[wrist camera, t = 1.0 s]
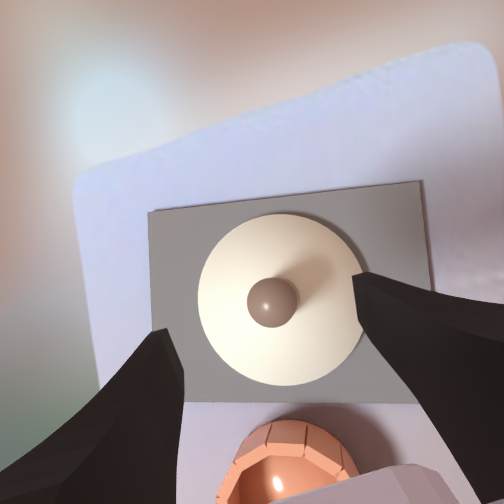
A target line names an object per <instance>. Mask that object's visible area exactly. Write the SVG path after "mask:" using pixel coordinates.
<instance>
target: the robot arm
mask: <svg viewBox="0 0 504 504" xmlns="http://www.w3.org/2000/svg"><path fill="white" fill-rule="evenodd" d="M352 283H353V290H354V297H355V304H356V311H357V318H358V322H359V323H360V325H361V327H362V328H363V330H364V332H365V333H366V335H367V337H368V338H369V340H370V341H371V343H372V344H373V345H374V346H375V348H376V349H377V350H378V351H379V353H380V354H381V355H382V356H383V358H384V359H385V360H386V361H387V362H388V364H389V365H390V366H391V367H392V369H393V370H394V371H395V372H396V373H397V375H398V376H399V377H400V378H401V379H402V381H403V382H404V383H405V384H406V386H407V387H408V388H409V389H410V391H411V392H412V393H413V395H414V396H415V397H416V399H417V400H418V402H419V403H420V405H421V406H422V408H423V409H424V411H425V412H426V414H427V415H428V417H429V418H430V420H431V421H432V423H433V425H434V426H435V428H436V429H437V431H438V432H439V434H440V436H441V437H442V439H443V440H444V442H445V444H446V445H447V447H448V448H449V450H450V451H451V453H452V455H453V456H454V458H455V460H456V461H457V463H458V465H459V466H460V468H461V470H462V471H463V473H464V475H465V476H466V478H467V480H468V481H469V483H470V485H471V486H472V488H473V490H474V492H475V493H476V495H477V497H478V499H479V500H480V502H481V504H504V304H497V303H489V302H482V301H476V300H470V299H465V298H460V297H454V296H450V295H445V294H441V293H437V292H433V291H430V290H426V289H422V288H419V287H416V286H412V285H409V284H406V283H403V282H400V281H397V280H394V279H391V278H388V277H385V276H382V275H378V274H375V273H372V272H367V271H366V272H363V273H359V274H356V275H352ZM184 396H185V384H184V369H183V366H182V364H181V361H180V359H179V356H178V354H177V351H176V349H175V346H174V344H173V342H172V339H171V337H170V334H169V332H168V329H167V328H164V329H160V330H157V331H153V332H151V333H150V334H149V335H148V336H147V337H146V338H145V339H144V340H143V342H142V343H141V344H140V345H139V346H138V348H137V349H136V350H135V351H134V353H133V354H132V355H131V356H130V357H129V359H128V360H127V361H126V362H125V363H124V365H123V366H122V367H121V368H120V369H119V370H118V372H117V373H116V374H115V375H114V376H113V377H112V378H111V379H110V380H109V382H108V383H107V384H106V385H105V386H104V387H103V388H102V389H101V390H100V391H99V392H98V394H96V395H95V396H94V397H93V398H92V399H91V400H90V401H89V402H88V403H87V404H86V405H85V406H84V407H83V408H82V409H81V410H80V411H79V412H78V413H76V414H75V415H74V416H73V417H72V418H71V419H70V420H68V421H67V422H66V423H65V424H63V425H62V426H61V427H60V428H59V429H57V430H56V431H55V432H54V433H53V434H51V435H50V436H49V437H48V438H47V439H45V440H44V441H43V442H42V443H40V444H39V445H37V446H36V447H35V448H34V449H32V450H31V451H30V452H28V453H27V454H25V455H24V456H23V457H21V458H20V459H18V460H17V461H15V462H14V463H13V464H11V465H10V466H8V467H7V468H5V469H4V470H2V471H1V472H0V504H176V471H177V456H178V447H179V439H180V431H181V423H182V414H183V405H184ZM268 504H460V503H459V502H458V500H457V499H456V498H455V496H454V495H453V493H452V492H451V490H450V489H449V487H448V486H447V484H446V483H445V481H444V480H443V478H442V477H441V475H440V474H439V473H438V472H436V471H433V470H430V469H428V468H425V467H422V466H420V465H416V464H406V465H397V466H388V467H385V468H382V469H379V470H375V471H372V472H369V473H365V474H362V475H359V476H356V477H352V478H349V479H346V480H342V481H339V482H336V483H332V484H329V485H326V486H323V487H319V488H316V489H313V490H309V491H306V492H303V493H300V494H296V495H293V496H290V497H286V498H283V499H280V500H276V501H273V502H270V503H268Z"/></svg>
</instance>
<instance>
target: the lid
mask: <svg viewBox="0 0 504 504" xmlns="http://www.w3.org/2000/svg"><path fill="white" fill-rule="evenodd" d="M359 273H363V272H362V270H361V267H360V265H359V263H358V261H357V259H356V257H355V256H354V254H353V252H352V251H351V250H350V248H349V247H348V246H347V245H346V243H345V242H344V241H343V240H342V239H341V238H340V237H339V236H337V235H336V234H335V233H334V232H332V231H331V230H330V229H328V228H327V227H325V226H323V225H321V224H320V223H318V222H316V221H313V220H310V219H308V218H304V217H300V216H296V215H288V214H273V215H267V216H261V217H258V218H255V219H252V220H249V221H247V222H245V223H243V224H241V225H239V226H238V227H236V228H234V229H233V230H232V231H230V232H229V233H228V234H227V235H225V236H224V237H223V238H222V239H221V240H220V241H219V242H218V244H217V245H216V246H215V248H214V249H213V250H212V252H211V253H210V255H209V257H208V259H207V260H206V263H205V265H204V268H203V270H202V274H201V277H200V281H199V288H198V308H199V315H200V319H201V323H202V326H203V329H204V332H205V334H206V336H207V338H208V340H209V342H210V344H211V345H212V347H213V348H214V350H215V351H216V352H217V353H218V355H219V356H220V357H221V358H222V359H223V360H224V361H225V362H226V363H227V364H228V365H229V366H230V367H232V368H233V369H235V370H236V371H237V372H239V373H240V374H242V375H244V376H246V377H248V378H250V379H253V380H255V381H258V382H261V383H265V384H270V385H279V386H290V385H299V384H304V383H308V382H311V381H314V380H317V379H319V378H321V377H323V376H325V375H327V374H328V373H330V372H331V371H332V370H334V369H335V368H337V367H338V366H339V365H340V364H341V363H342V362H343V361H344V360H345V359H346V358H347V357H348V356H349V354H350V353H351V352H352V351H353V349H354V347H355V346H356V344H357V342H358V341H359V338H360V336H361V334H362V331H363V328H362V327H361V325H360V323H359V322H358V318H357V311H356V304H355V297H354V290H353V283H352V275H356V274H359Z"/></svg>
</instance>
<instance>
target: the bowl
mask: <svg viewBox="0 0 504 504" xmlns="http://www.w3.org/2000/svg"><path fill="white" fill-rule="evenodd" d="M359 475H360V473H359V472H358V470H357V467H356V465H355V463H354V461H353V459H352V457H351V456H350V454H349V453H348V451H347V450H346V449H345V447H344V446H343V445H342V444H341V443H340V442H339V441H338V440H337V439H336V438H335V437H334V436H332V435H331V434H330V433H328V432H327V431H325V430H324V429H322V428H320V427H318V426H316V425H314V424H311V423H308V422H305V421H300V420H292V419H286V420H278V421H273V422H270V423H267V424H265V425H263V426H261V427H259V428H258V429H256V430H255V431H253V432H252V433H251V434H250V435H249V436H248V437H247V438H245V439H244V440H243V442H242V444H241V446H240V448H239V450H238V452H237V454H236V456H235V458H234V460H233V462H232V464H231V466H230V468H229V470H228V472H227V474H226V477H225V479H224V481H223V483H222V485H221V487H220V489H219V491H218V493H217V497H216V504H268V503H270V502H273V501H276V500H280V499H283V498H286V497H290V496H293V495H296V494H300V493H303V492H306V491H309V490H313V489H316V488H319V487H323V486H326V485H329V484H332V483H336V482H339V481H342V480H346V479H349V478H352V477H356V476H359Z"/></svg>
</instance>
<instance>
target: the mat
mask: <svg viewBox="0 0 504 504" xmlns="http://www.w3.org/2000/svg"><path fill="white" fill-rule="evenodd" d="M273 214H288V215H296V216H300V217H304V218H308V219H310V220H313V221H316V222H318V223H320V224H321V225H323V226H325V227H327V228H328V229H330V230H331V231H332V232H334V233H335V234H336V235H337V236H339V237H340V238H341V239H342V240H343V241H344V242H345V243H346V245H347V246H348V247H349V248H350V250H351V251H352V252H353V254H354V256H355V257H356V259H357V261H358V263H359V265H360V267H361V270H362V272H366V271H367V272H372V273H375V274H378V275H382V276H385V277H388V278H391V279H394V280H397V281H400V282H403V283H406V284H409V285H412V286H416V287H419V288H422V289H426V290H430V291H431V285H430V276H429V267H428V258H427V249H426V240H425V231H424V222H423V213H422V204H421V195H420V186H419V181H417V182H408V183H399V184H391V185H382V186H373V187H364V188H356V189H347V190H338V191H329V192H320V193H312V194H303V195H294V196H285V197H277V198H268V199H259V200H250V201H241V202H233V203H224V204H215V205H206V206H198V207H189V208H180V209H171V210H162V211H154V212H148V237H149V262H150V288H151V313H152V332H153V331H157V330H160V329H164V328H167V329H168V332H169V334H170V337H171V339H172V342H173V344H174V346H175V349H176V351H177V354H178V356H179V359H180V361H181V364H182V366H183V369H184V384H185V396H184V402H265V403H389V404H420V403H419V402H418V400H417V399H416V397H415V396H414V395H413V393H412V392H411V391H410V389H409V388H408V387H407V386H406V384H405V383H404V382H403V381H402V379H401V378H400V377H399V376H398V375H397V373H396V372H395V371H394V370H393V369H392V367H391V366H390V365H389V364H388V362H387V361H386V360H385V359H384V358H383V356H382V355H381V354H380V353H379V351H378V350H377V349H376V348H375V346H374V345H373V344H372V343H371V341H370V340H369V338H368V337H367V335H366V333H365V332H364V330H363V331H362V334H361V336H360V338H359V341H358V342H357V344H356V346H355V347H354V349H353V351H352V352H351V353H350V354H349V356H348V357H347V358H346V359H345V360H344V361H343V362H342V363H341V364H340V365H339V366H338V367H337V368H335V369H334V370H332V371H331V372H330V373H328V374H327V375H325V376H323V377H321V378H319V379H317V380H314V381H311V382H308V383H304V384H299V385H290V386H279V385H270V384H265V383H261V382H258V381H255V380H253V379H250V378H248V377H246V376H244V375H242V374H240V373H239V372H237V371H236V370H235V369H233V368H232V367H230V366H229V365H228V364H227V363H226V362H225V361H224V360H223V359H222V358H221V357H220V356H219V355H218V353H217V352H216V351H215V350H214V348H213V347H212V345H211V344H210V342H209V340H208V338H207V336H206V334H205V332H204V329H203V326H202V323H201V319H200V315H199V308H198V288H199V281H200V277H201V274H202V270H203V268H204V265H205V263H206V260H207V259H208V257H209V255H210V253H211V252H212V250H213V249H214V248H215V246H216V245H217V244H218V242H219V241H220V240H221V239H222V238H223V237H224V236H225V235H227V234H228V233H229V232H230V231H232V230H233V229H234V228H236V227H238V226H239V225H241V224H243V223H245V222H247V221H249V220H252V219H255V218H258V217H261V216H267V215H273Z"/></svg>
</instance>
